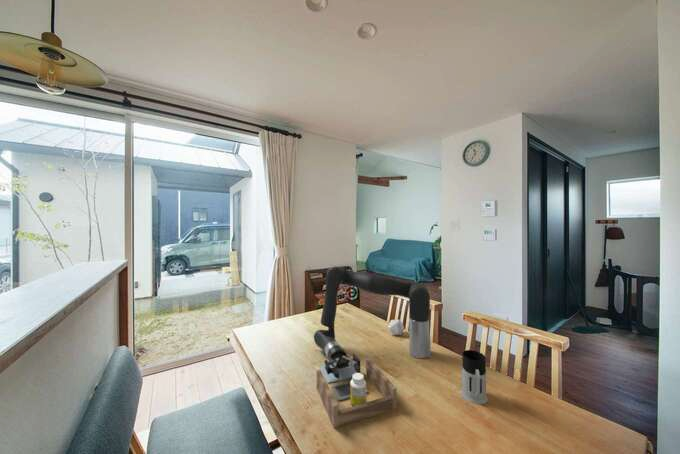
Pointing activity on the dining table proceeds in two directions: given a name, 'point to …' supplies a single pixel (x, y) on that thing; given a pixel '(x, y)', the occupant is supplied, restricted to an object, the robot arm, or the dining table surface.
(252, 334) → the dining table surface
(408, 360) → the dining table surface
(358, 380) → the supplement bottle
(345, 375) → the pad
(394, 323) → the die
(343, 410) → the walnut open-topped enclosure
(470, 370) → the glass holder
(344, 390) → the tray
